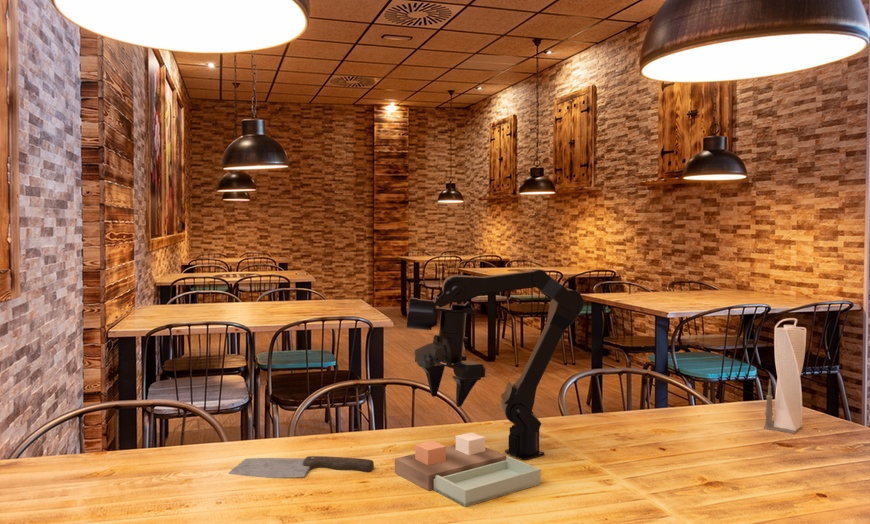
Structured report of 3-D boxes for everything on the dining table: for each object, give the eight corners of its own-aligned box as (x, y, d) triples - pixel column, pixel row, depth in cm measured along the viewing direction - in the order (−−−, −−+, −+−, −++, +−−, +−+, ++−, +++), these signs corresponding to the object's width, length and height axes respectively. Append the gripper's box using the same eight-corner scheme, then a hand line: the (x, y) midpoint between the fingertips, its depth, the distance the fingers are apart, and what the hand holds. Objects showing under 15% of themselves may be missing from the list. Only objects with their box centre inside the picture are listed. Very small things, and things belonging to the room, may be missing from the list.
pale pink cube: (471, 445, 146) (471, 432, 146) (485, 451, 142) (485, 437, 142) (455, 449, 143) (455, 435, 143) (468, 455, 140) (468, 441, 140)
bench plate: (470, 454, 149) (470, 441, 149) (506, 469, 140) (506, 455, 140) (394, 472, 138) (394, 458, 138) (428, 490, 128) (428, 475, 128)
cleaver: (375, 465, 143) (375, 455, 143) (368, 481, 134) (368, 471, 133) (241, 463, 145) (241, 453, 145) (224, 480, 135) (224, 469, 135)
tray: (507, 470, 139) (507, 455, 139) (540, 484, 132) (540, 469, 131) (433, 490, 128) (433, 474, 128) (465, 507, 120) (465, 490, 120)
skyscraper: (774, 421, 177) (776, 316, 175) (808, 427, 171) (811, 319, 170) (763, 428, 170) (766, 319, 169) (798, 434, 165) (801, 322, 164)
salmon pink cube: (432, 454, 140) (433, 440, 140) (445, 460, 136) (445, 446, 136) (415, 459, 137) (415, 444, 137) (427, 465, 134) (427, 450, 133)
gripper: (398, 325, 151) (392, 394, 151) (449, 340, 136) (442, 415, 136) (437, 325, 157) (432, 390, 158) (490, 338, 142) (483, 411, 143)
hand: (445, 401), depth 148 cm, fingers open, 9 cm apart
